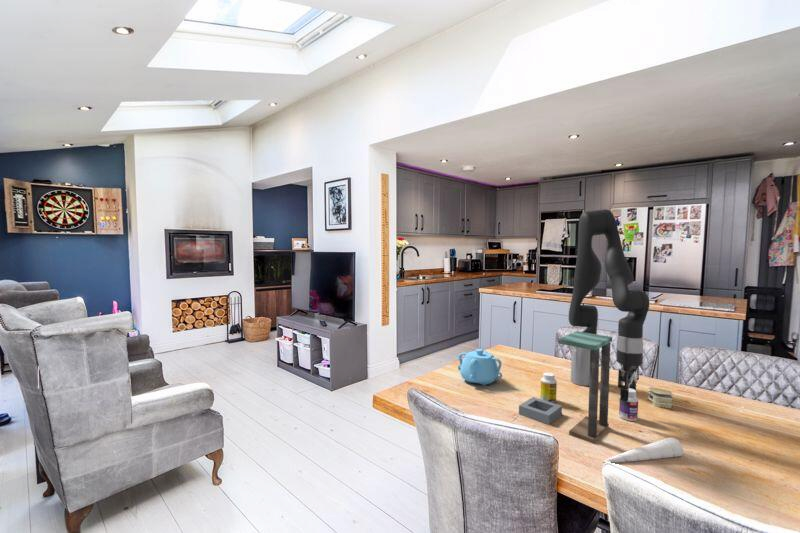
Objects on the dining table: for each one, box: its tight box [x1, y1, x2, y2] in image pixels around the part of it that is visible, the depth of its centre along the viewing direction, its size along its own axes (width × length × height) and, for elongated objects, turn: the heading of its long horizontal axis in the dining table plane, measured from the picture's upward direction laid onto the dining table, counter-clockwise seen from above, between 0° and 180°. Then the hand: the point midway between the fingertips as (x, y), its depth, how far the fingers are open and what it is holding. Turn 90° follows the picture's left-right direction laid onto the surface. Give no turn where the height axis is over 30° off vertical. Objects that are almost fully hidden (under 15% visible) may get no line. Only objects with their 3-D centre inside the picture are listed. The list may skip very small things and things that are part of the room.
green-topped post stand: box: [557, 330, 613, 444], centre depth 117 cm, size 15×11×29 cm
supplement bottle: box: [539, 372, 558, 404], centre depth 139 cm, size 6×6×10 cm
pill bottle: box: [618, 388, 639, 422], centre depth 125 cm, size 5×5×10 cm
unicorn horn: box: [602, 436, 684, 464], centre depth 102 cm, size 5×24×5 cm, turn 98°
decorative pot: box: [457, 348, 503, 386], centre depth 160 cm, size 16×16×14 cm
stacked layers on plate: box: [647, 386, 674, 409], centre depth 136 cm, size 10×9×6 cm
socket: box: [518, 396, 563, 425], centre depth 128 cm, size 10×10×3 cm
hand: (628, 396), depth 125 cm, fingers open, 8 cm apart
